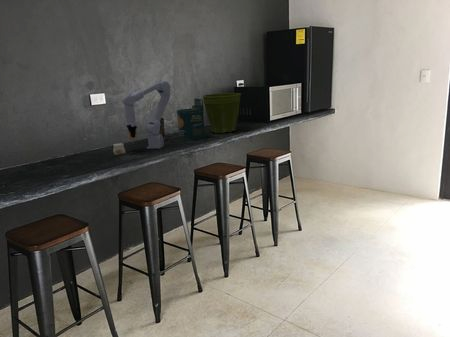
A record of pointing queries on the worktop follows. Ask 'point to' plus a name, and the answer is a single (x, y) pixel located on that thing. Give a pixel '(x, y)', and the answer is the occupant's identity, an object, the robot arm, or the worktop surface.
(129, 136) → the terracotta cube
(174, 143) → the worktop surface
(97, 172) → the worktop surface
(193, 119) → the donation box
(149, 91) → the robot arm
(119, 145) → the tower top
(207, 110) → the plant pot
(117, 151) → the tower base
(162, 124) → the coffee box
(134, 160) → the worktop surface
